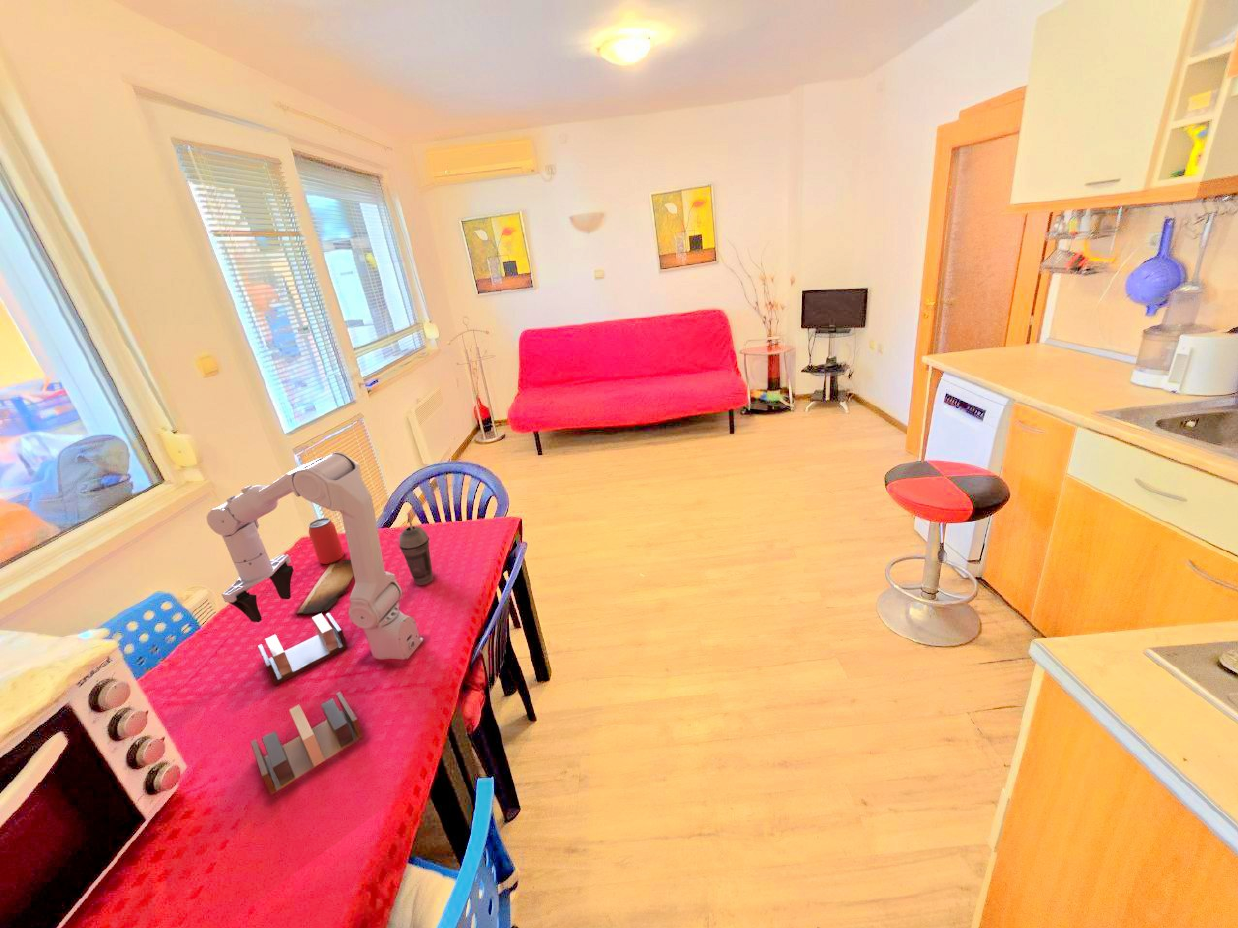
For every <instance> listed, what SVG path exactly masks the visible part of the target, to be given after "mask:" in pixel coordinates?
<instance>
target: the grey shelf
mask: <svg viewBox="0 0 1238 928" xmlns="http://www.w3.org/2000/svg"><path fill="white" fill-rule="evenodd" d="M335 695H336V698H337V700H338V704H339V706H340V708H339V707H338V705H337V703H336V702H335V699H334V698H333V697H332V698H330V699H328V700H326V701H324V702H323V703H321V704H320V707H321V709H322V712H323V715H324V717H325V720H323V721H322V722H320V723H318V724H317V725H315V726H313V727H311V729H312V731H313V733H314V735H315V738H316V740H317V743H318V745H319V747H320V750H321V752H322V754H323V757H324V759H325V761H327V760H328V759H330V758H332V757H333V756H335V755H336V754H338V753H340V752H341V751H343V750H345V749H346V748H347V747H349V746H351V745H352V744H354V743H355V742H357V741H359V740H361V738H363V737H364V733H363V730H362V728H361V725H360V723H359V720H358V717H357V716H356V714H355V713H354V711H353V709H352V708H351V706H350V704H349V703H348V701H347V699H346V697H345V696H344V694H343V693H342V691H339V692H337V693H335ZM261 740H262V743H263V746H264V749H265V751H266V755H265V754H264V753H263V750H262V748H261V745H260V744H259V742H258V740H257V739H256V738H255V739H254V740H252V741H250V745H251V748H252V750H253V751H252V752H253V754H254V757H255V760H256V763H257V766H258V769H259V772H260V776H261V778H262V780H263V781H264V784H265V786H266V788H267V790H268V792H269V794H270V795H271V796H272V795H273V794H275V793H277V792H278V791H279V790H281V789H283V788H284V787H286V786H287V785H289V784H291V783H292V782H294V781H295V780H297V779H299V778H300V777H301V776H303V775H305V774H306V773H308V772H310V771H312V770H313V769H314V768H316V767H317V766H319V765H320V764H322V763H323V762H325V761H323V762H322V763H320V764H318V765H317V766H315V767H314V765H313V763H312V761H311V758H310V756H309V754H308V752H307V750H306V747H305V745H304V743H303V741H302V739H301V736H300V735H297V736H296V737H294V738H293V739H291V740H290V741H287V742H286V743H284V744H282V742H281V739H280V737H279V735H278V733H277V731H276V730H273V731H272V732H269V733H268V734H266V735H265V736H263V737H261Z"/></svg>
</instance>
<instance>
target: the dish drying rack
mask: <svg viewBox="0 0 1238 928" xmlns="http://www.w3.org/2000/svg"><path fill="white" fill-rule="evenodd" d="M311 620H312V623H313V625H314V628H315V630H316V633H317V634H316V635H314V636H312V637H310V638H308V639H306V640H303V641H302V642H300V643H297V644H296V645H294V646H292V647H289V648H287V649H285V650H284V648H283V645H282V644H281V642H280V639H279V638H278V636H277V634H276V633H275V634H273V635H271V636H269V637H267V638H264V641H265V643H266V646H267V648H268V651H269V652H270V656H271V657H269V656H268V654H267V651H266V649H265V647H264V645H263V643H260V644H258V645H257V649H258V650H259V652H260V655H261V657H262V659H263V662H264V664H265V667H266V669H267V670H268V674H269V676H270V678H271V680H272V681H273V684H274V686H277V685H279V684H281V683H283V682H285V681H287V680H289V679H292V678H293V677H295V676H297V675H300V673H303V672H304V671H307V670H308V669H310V668H313V667H315V666H317V665H318V664H320V663H322V662H324V661H326V660H328V659H330V658H332V657H334V656H337V654H339V653H342V652H343V651H346V650H348V649H349V646H348V643H347V640H346V637H345V634H344V631H343V629H342V628H341V626H340V625H339V623H337V621H336V620H335V618H334V617H333V615H332V614H331V612H327V613H326V614H325V616H324V615H323V612H321V613H318V614H316V615H314V616H311Z"/></svg>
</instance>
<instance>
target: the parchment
mask: <svg viewBox="0 0 1238 928" xmlns="http://www.w3.org/2000/svg"><path fill="white" fill-rule="evenodd" d="M354 578H355V577H354V572H353V567H352V563H351V558H349V559H342V561H336V562H333V563H330V564H329V566H328V567H327V568H326V569H325V571H324V572H323V574H322V575H321V576H320V577H319V579H318V581H317V582H316V583H315V585H314V586H313V588H312V589H311V591H310V593H309V594H308V595H307V596H306V598H305V599H304V601H303V603H302V604H301V606H300V607H299V609H297V611H296V612H295V614H296V615H298V614H304V615H305V614H306V615H310V614H315V613H320V612H321V613H326V612H327V611H329V609H332V607H333V606H334V605H336V603H337V601H338V599H339V597H340V596H342V595H344V594H345V593H346V590H347V589H348V586H349V585H350V583H351V581H352V580H353V579H354Z"/></svg>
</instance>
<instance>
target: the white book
mask: <svg viewBox="0 0 1238 928" xmlns="http://www.w3.org/2000/svg"><path fill="white" fill-rule="evenodd" d="M288 711H289V713H290V716H291V718H292V721H293V723H294V724H295V727H296V730H297V731H298V735H299V736H301V739H302V741H303V743H304V745H305V747H306V750H307V752H308V754H309V756H310V758H311V761H312V763H313V765H314V768H316V767H317V766H319V765H320V763H321V764H323V761H324V762H325V761H326V760H325V759H324V757H323V754H322V752H321V750H320V747H319V745H318V743H317V740H316V738H315V735H314V733H313V731H312V727H311V724H310V723H309V721H308V719H307V717H306V715H305V712H304V710H303V708H302V707H301V705H300V703H299V704H297V705H295V706H293V707H292V708H289V709H288ZM318 764H319V765H318ZM315 766H316V767H315Z"/></svg>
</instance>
